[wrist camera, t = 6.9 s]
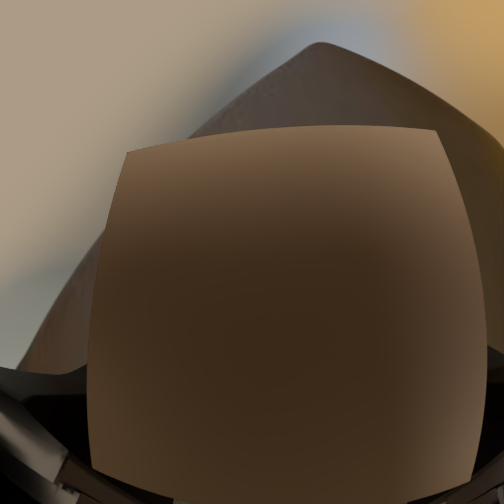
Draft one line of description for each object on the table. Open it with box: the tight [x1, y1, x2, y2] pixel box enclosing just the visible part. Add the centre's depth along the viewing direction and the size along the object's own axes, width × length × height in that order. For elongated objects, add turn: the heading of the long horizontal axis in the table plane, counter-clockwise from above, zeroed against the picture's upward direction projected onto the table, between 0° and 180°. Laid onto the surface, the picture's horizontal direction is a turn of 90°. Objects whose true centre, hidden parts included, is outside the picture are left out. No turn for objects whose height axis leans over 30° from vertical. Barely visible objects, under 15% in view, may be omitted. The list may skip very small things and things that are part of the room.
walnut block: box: [87, 125, 487, 504], centre depth 9 cm, size 5×5×13 cm
